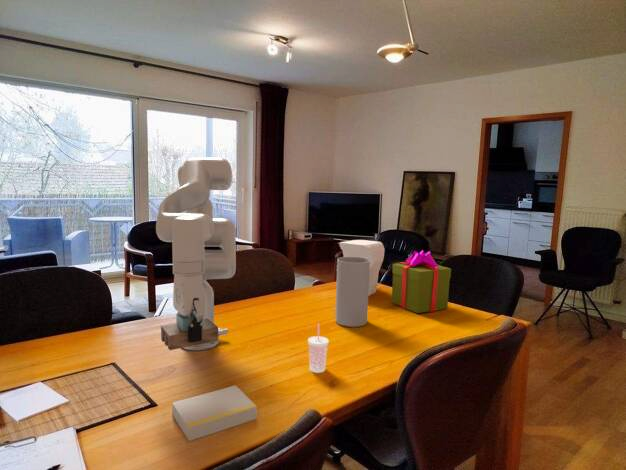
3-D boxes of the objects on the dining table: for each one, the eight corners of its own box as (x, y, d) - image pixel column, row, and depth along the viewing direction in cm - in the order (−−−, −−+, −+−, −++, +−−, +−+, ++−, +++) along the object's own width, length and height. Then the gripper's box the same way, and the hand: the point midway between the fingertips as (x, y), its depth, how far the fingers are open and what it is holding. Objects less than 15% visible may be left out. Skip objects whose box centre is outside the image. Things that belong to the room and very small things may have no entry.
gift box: (414, 297, 205) (417, 245, 202) (452, 308, 189) (456, 252, 186) (385, 304, 192) (388, 249, 189) (424, 317, 176) (428, 257, 173)
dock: (235, 396, 109) (235, 384, 109) (256, 418, 99) (256, 406, 99) (172, 414, 100) (172, 402, 100) (189, 441, 90) (188, 427, 90)
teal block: (196, 321, 110) (196, 310, 109) (202, 327, 106) (202, 316, 105) (176, 325, 107) (176, 313, 107) (182, 331, 103) (182, 319, 103)
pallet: (207, 331, 113) (207, 318, 113) (218, 340, 107) (218, 326, 107) (161, 339, 107) (161, 326, 106) (169, 350, 100) (169, 335, 100)
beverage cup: (320, 375, 122) (322, 328, 120) (303, 370, 125) (304, 324, 123) (331, 367, 127) (333, 322, 125) (314, 362, 130) (315, 318, 128)
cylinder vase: (330, 324, 164) (332, 261, 161) (340, 315, 176) (343, 255, 172) (362, 329, 159) (365, 264, 156) (370, 319, 171) (373, 258, 168)
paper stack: (329, 293, 209) (331, 241, 205) (364, 284, 227) (366, 236, 224) (363, 303, 194) (366, 247, 190) (397, 292, 213) (400, 242, 209)
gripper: (163, 262, 109) (164, 328, 112) (184, 275, 95) (185, 351, 97) (192, 259, 114) (193, 323, 116) (216, 272, 99) (216, 344, 102)
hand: (189, 335), depth 107 cm, fingers closed on pallet, 7 cm apart
